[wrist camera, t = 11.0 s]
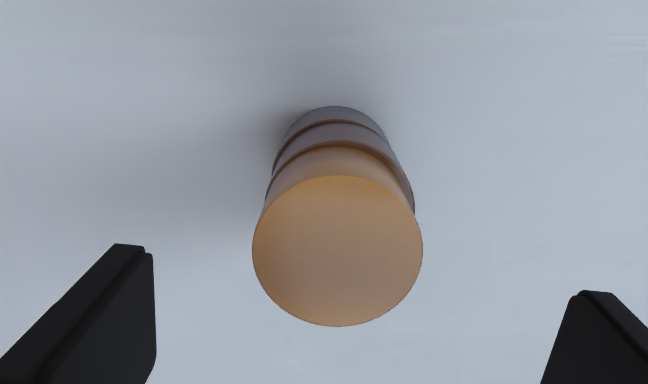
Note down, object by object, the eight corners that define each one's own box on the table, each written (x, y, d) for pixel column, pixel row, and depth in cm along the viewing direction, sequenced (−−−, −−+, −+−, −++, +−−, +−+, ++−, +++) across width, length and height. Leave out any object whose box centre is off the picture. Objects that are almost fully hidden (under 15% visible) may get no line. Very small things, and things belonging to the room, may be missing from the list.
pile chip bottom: (282, 100, 22) (275, 112, 19) (398, 112, 22) (410, 126, 19) (275, 207, 24) (267, 234, 21) (382, 218, 24) (389, 246, 21)
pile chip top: (277, 115, 19) (267, 132, 16) (412, 128, 19) (428, 149, 16) (269, 237, 21) (259, 273, 18) (391, 248, 21) (402, 286, 18)
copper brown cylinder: (269, 138, 16) (255, 166, 13) (417, 153, 16) (437, 183, 13) (261, 269, 18) (248, 319, 15) (394, 281, 18) (407, 334, 15)
